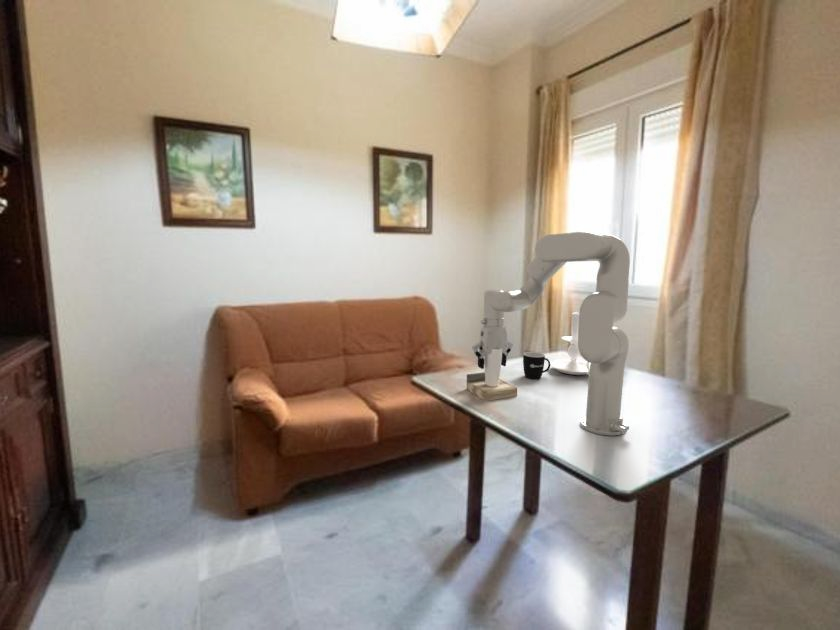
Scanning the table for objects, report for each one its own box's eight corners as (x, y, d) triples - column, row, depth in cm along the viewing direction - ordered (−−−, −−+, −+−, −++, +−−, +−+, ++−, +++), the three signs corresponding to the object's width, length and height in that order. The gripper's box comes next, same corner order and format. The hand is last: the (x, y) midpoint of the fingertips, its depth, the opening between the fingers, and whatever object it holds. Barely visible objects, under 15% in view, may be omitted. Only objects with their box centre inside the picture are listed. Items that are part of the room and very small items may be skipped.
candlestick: (572, 383, 168) (576, 317, 164) (540, 367, 191) (543, 309, 187) (614, 380, 173) (619, 315, 169) (578, 364, 197) (581, 307, 192)
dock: (517, 396, 153) (517, 380, 152) (484, 400, 148) (485, 385, 147) (496, 384, 166) (497, 370, 165) (466, 389, 161) (466, 374, 160)
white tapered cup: (479, 383, 158) (480, 346, 155) (493, 381, 161) (495, 344, 158) (490, 388, 152) (491, 349, 149) (504, 386, 155) (506, 348, 152)
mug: (526, 380, 172) (527, 357, 170) (519, 374, 180) (520, 352, 179) (553, 379, 173) (555, 356, 171) (545, 373, 182) (546, 351, 180)
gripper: (478, 325, 146) (477, 371, 149) (518, 322, 152) (516, 366, 155) (468, 322, 153) (467, 366, 155) (507, 319, 159) (505, 362, 162)
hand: (492, 366), depth 155 cm, fingers open, 9 cm apart
